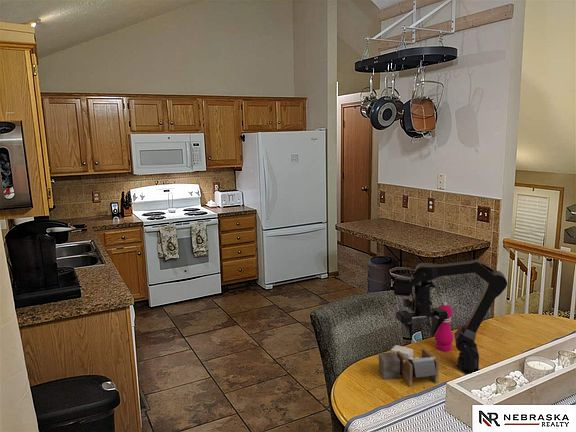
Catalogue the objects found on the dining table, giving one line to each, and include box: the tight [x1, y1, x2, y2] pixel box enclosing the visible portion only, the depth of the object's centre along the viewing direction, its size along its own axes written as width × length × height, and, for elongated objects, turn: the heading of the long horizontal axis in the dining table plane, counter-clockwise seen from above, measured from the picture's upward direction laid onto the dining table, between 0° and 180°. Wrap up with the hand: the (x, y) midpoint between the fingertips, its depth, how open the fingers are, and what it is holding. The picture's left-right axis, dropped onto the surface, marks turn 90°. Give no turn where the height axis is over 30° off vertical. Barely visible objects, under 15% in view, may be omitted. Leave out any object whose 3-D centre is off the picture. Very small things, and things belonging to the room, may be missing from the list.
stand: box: [378, 351, 401, 380], centre depth 164 cm, size 6×6×7 cm
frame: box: [397, 347, 440, 388], centre depth 161 cm, size 12×11×8 cm
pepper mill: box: [434, 301, 454, 352], centre depth 182 cm, size 7×7×20 cm
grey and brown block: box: [407, 356, 437, 379], centre depth 161 cm, size 8×12×6 cm, turn 10°
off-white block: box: [390, 344, 414, 359], centre depth 173 cm, size 5×6×7 cm
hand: (421, 336), depth 170 cm, fingers open, 9 cm apart
